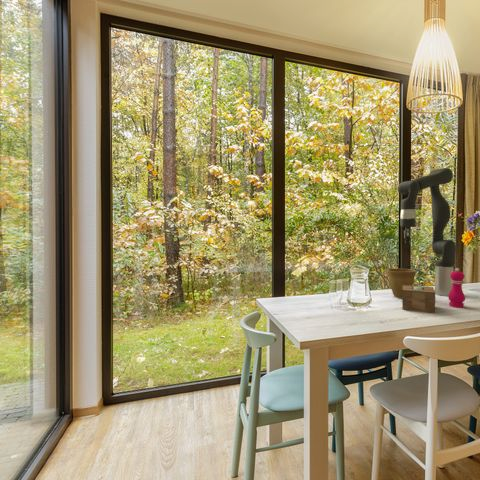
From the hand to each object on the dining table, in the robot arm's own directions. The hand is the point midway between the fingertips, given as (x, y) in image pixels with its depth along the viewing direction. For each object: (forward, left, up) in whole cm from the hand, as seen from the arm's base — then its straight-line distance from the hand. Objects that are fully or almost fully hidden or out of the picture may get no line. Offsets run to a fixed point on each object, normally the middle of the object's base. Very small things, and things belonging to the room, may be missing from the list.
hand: (407, 249), depth 172 cm
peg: (+12, +5, -28) cm, 30 cm away
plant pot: (-11, -3, -29) cm, 31 cm away
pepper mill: (0, +23, -29) cm, 37 cm away
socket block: (+12, +5, -29) cm, 32 cm away
